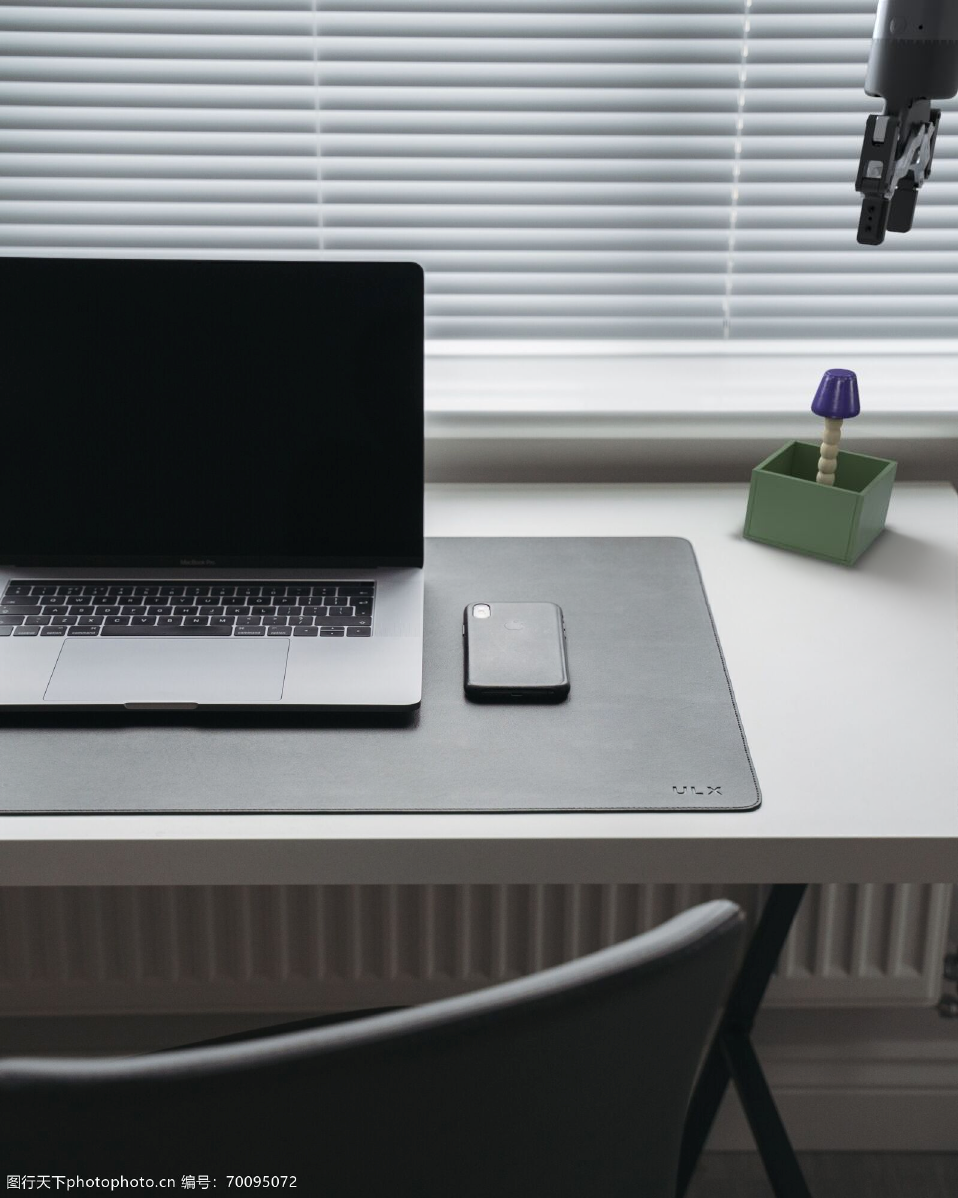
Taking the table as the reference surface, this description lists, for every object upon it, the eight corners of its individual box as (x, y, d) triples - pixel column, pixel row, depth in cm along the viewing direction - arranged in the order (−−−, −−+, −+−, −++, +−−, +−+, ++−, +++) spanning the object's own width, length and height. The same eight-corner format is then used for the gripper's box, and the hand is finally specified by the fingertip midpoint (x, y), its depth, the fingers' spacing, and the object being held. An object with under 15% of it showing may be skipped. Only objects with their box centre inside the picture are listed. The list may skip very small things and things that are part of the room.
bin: (883, 529, 116) (898, 461, 112) (849, 567, 108) (864, 496, 104) (781, 504, 121) (792, 438, 118) (742, 538, 113) (752, 469, 110)
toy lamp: (792, 536, 112) (819, 377, 105) (789, 518, 116) (814, 363, 109) (841, 540, 112) (872, 380, 104) (836, 522, 116) (865, 366, 108)
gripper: (945, 35, 84) (903, 254, 92) (987, 35, 95) (947, 232, 102) (847, 33, 88) (815, 244, 95) (898, 33, 98) (866, 223, 106)
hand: (883, 237), depth 99 cm, fingers open, 8 cm apart
